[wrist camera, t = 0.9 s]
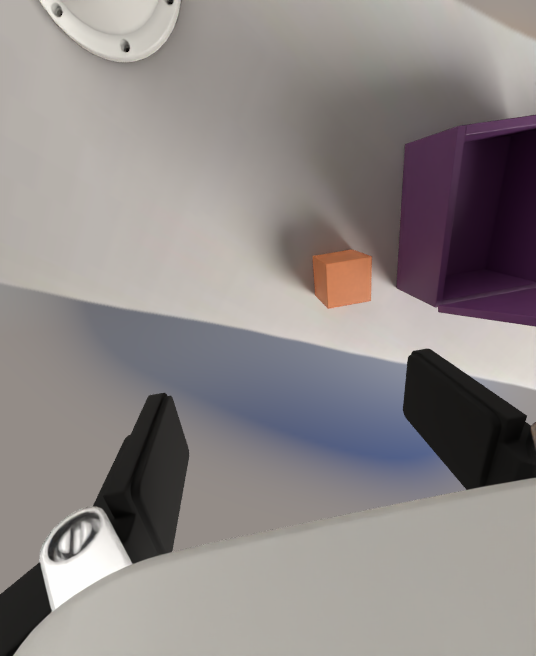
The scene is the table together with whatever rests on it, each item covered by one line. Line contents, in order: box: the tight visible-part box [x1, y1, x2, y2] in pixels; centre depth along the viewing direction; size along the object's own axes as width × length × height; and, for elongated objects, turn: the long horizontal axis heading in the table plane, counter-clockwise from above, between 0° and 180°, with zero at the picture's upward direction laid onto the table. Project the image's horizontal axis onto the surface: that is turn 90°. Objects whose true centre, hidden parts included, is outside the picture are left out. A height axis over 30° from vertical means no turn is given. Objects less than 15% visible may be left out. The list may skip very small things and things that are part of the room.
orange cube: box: [313, 249, 372, 309], centre depth 35 cm, size 6×6×6 cm
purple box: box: [396, 115, 536, 307], centre depth 33 cm, size 18×14×8 cm
